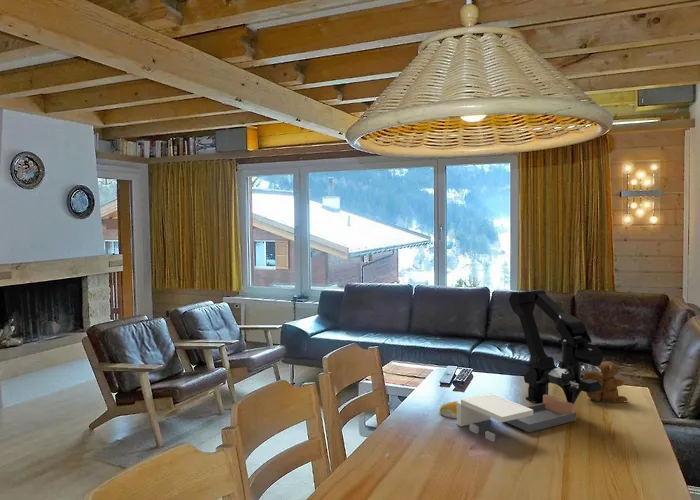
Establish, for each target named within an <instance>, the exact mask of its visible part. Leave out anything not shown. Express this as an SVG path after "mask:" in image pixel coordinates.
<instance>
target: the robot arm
mask: <svg viewBox="0 0 700 500" xmlns="http://www.w3.org/2000/svg"><path fill="white" fill-rule="evenodd" d="M508 301H509V304H510V307H511V309H512V311H513V313H515V314H516V315H517V316H518V318H519V321H520V325H521V327H522V331H523V334H524V338H525V342H526V345H527V348H528V351H529V355H530V357H529V362H528V370H529V371H527V372H526V373H525V375H524V376H523V380H524V383H526V384H528V388H527V389H528V391H527V392H528V393H527V394H528V395H527V396H526V397H525V400H528V401H531V402H533V403H536V404H540V403H543V395H546V394H547V395H549V384H552V385H553V384H554V385H557V386H558V387H560V388H561V389H562V390H563V394H564V396H565V399H566V401H567V402H570V403H573V404H575V403H576V401H577V399H578V397H579V396H580V394H581V393H582V392H585V393H586V392H587V393H591V392H595V391H600V390H601V383H600V382H599V381H596V380H592V379H587V380H581V379H583V375H584V374H583V373H582V371H581V370H582V366H585V365H586V364H587V365H589V366H593V367H598V366H599V365H600V364H601V362H602V363H603V360H604V353H603V351H602V349H601V348H599V344H598V343H594V342H593V341H592V338H591V336H590V335H589V333H588V330H587V329H586V327H585V326H586V325H585V323H584V321H582V320H581V319H579V318H577V317H575V316H574V315H572V314H568V313H567V312H566V311H565V310H563V309H562V308H561V307H560V306H559V305H558V304H557V303H556V302H555V301H554V300H553V299H552V298H551V297H550V296H549V295H547V293H546V291H545V290H544V289H532V290H521V291H512V292H511V294H510V295H509V299H508ZM536 306H537V307H538V308H539V309H540V310H541V311H542V312H543V313H544V314H545V315H546V316H547V317H548V318H549V319H550V320H551V321H552V322H553V323H554V325H555V330H556V332H557V333H558V334H559V335H560V338H559V339H558V340H557V343H558V344H561V346H562V347H561V349H562V351H561V356H562V357H561V360H560V361H559V362H558V366H556V365H555V360H554V357H553V356H549V355H547V353H546V352H545V349H544V346H543V345H544V344H543V342H542V338H541V336H540V331H539V329H538V325H537V322H536V319H535V315H534V311H535V308H536ZM592 342H593V343H592ZM584 364H585V365H584ZM587 393H586V394H587Z"/></svg>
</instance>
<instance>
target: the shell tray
mask: <svg viewBox="0 0 700 500" xmlns="http://www.w3.org/2000/svg"><path fill="white" fill-rule="evenodd" d="M526 407H527V408H530V409H533V415H531V416H526V417H522V418H518V419H514V420H510V421H506V422H505V423H506V424H508V425H511V426H513V427H516V428H518V429H520V430H523V431H525V432H527V433H532V432H536V431H539V430H544V429H548V428H552V427H555V426H559V425H563V424H566V423H570V422H574V421H576V420H577V419H576V418H577V404H575V403H574V404H573V403H570V402H567V400H564V399H560V398H558V397H555V396H552V395H549V394H548V395H547V394H546V395H543V403H540V404H539V403H536V404H532V405H528V406H526Z"/></svg>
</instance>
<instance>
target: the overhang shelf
mask: <svg viewBox="0 0 700 500" xmlns="http://www.w3.org/2000/svg"><path fill="white" fill-rule="evenodd" d="M531 415H533V409H530V408H527V406H525V405H522V404H519V403H517V402H514V401H512V400H509V399H506V398H504V397H502V396H499V395H497V394H493V393H492V392H491V393H486V394H481V395H475V396H471V397H466V398H461V399H460V401H457V418H456V425H458V426H460V427H463V426H468V425H469V431H470V432H472V433H474V434H476V435H477V434H479V433H480V427H479V425H477V424H478V423H481V422H486V421H490V420H491V419H494V420H496V421H499V422H500V423H507V422H506V421H510V420H514V419H518V418H522V417H526V416H531ZM476 423H477V424H476ZM485 439H486V440H488V441H491V442H493V443H494V442H495V441H496V434H495V433H494V432H491V431H490V430H487V431H485Z"/></svg>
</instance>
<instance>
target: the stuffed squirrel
mask: <svg viewBox="0 0 700 500" xmlns="http://www.w3.org/2000/svg"><path fill="white" fill-rule="evenodd" d="M598 366H599V368H600V373H599V372H597V371H587V372H584V373H582V375H583V378H581V380H587V379H592V380H596V381H599V382H600V383H601V390H600V391H595V392H591V393H587V392H585V394H586V396H587V397H588V398H590V399H591V400H592V401H593V402H596V401H599V402H600V400H601V401H603V400H604V401H603V402H607V401H611V402H610V403H613V402H624V401H627V402H628V398H627V397H626V396H623V395H619V389H618V387H622V386H623V385H624V380H623V379H622V378H618V379H617V378H616V377H615V376H616V375H617V374H618V373H619V374H622V372H621V370H620V368H618V365H616V364H615V363H614V362H612V361H602V362H601V364H600V365H598ZM624 403H625V402H624Z"/></svg>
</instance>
